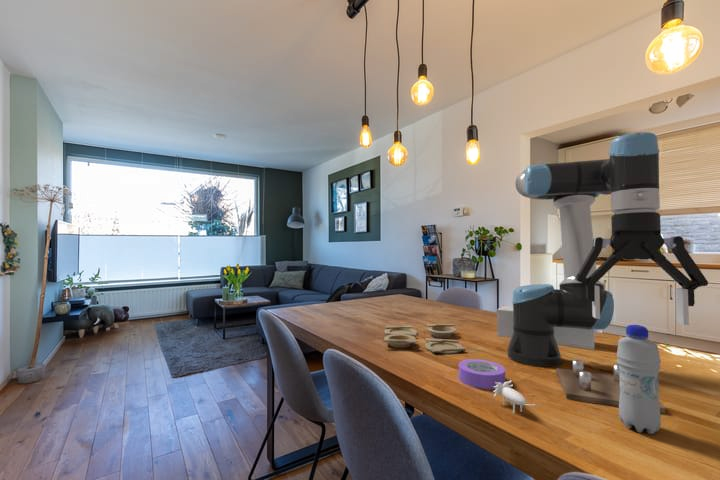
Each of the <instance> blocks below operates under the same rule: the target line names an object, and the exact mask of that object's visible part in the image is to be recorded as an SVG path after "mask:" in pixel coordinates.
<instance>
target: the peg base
mask: <svg viewBox="0 0 720 480" xmlns="http://www.w3.org/2000/svg"><path fill="white" fill-rule="evenodd" d="M589 372H590V371H589ZM555 373H556V376H557V379H558V381H559V383H560V386H561V388H562V391H563V392H564V393H563V394H564V395H565V398H566V399H567V400H573V401H578V402H587V403H592V404H599V405H606V406H613V407H618V408H619V398H620V383H617V382H615V381H614V374H607V373H600V372H599V373H598V372H590V373H591V391H583V390H581V389H579V378H577V377H574V376H573V370H572V369H565V368H557V367H556V368H555ZM659 407H660V414H664V415H665V414H666V407H665V406H663V404H662V403H661V402H660V401H659Z"/></svg>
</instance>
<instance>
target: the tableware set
mask: <svg viewBox="0 0 720 480" xmlns="http://www.w3.org/2000/svg"><path fill="white" fill-rule="evenodd" d="M426 327H427V331H428V332H430V333H432V335H433V337H436V338H427V337H426V338H425V342H426V343H425V344H424V348H425V349H426V350H428V351H430V352H432V353H438V354H449V355H450V354H457V353H460V352H462V351H466V350H467V349H466V347H465V346H463V345H462V344H460V343H459V340H458V339H446V338H451V336H452V335H453V334H455V333H456V332H457V331H458V329H457V328H455V327H456V323H441V324H437V323H428V324H426ZM413 328H414V326H413V325H410V324H409V325H403V326H402V325H397V326H396V325H395V326H392V325H391V326H384V331H383V332H384V334H385V336H384V338H383V340H382V342H383V343H388V344H390V346H391V347H393V348H397V349H404V348H409V347H411V344H415V343H418V342H419V341H418V340H417V339H416V338H417V336H418V331H417V330H416V329H413Z"/></svg>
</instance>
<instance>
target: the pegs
mask: <svg viewBox="0 0 720 480" xmlns="http://www.w3.org/2000/svg"><path fill="white" fill-rule="evenodd" d="M571 364H572V369H571V370H573V376H574V377H577V378H579V389H581V390H583V391H591V373H592V372H591V373H590V371H586V370H584V361H583V360H581V359H575V358H574V359H572V361H571ZM612 366H613V374H612V375H614V381H615V382H617V383H620V376H619V364H618V363H614V364H612Z"/></svg>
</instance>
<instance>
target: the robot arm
mask: <svg viewBox="0 0 720 480" xmlns="http://www.w3.org/2000/svg"><path fill="white" fill-rule="evenodd" d="M608 155H609V158H605V159H594V160H593V159H591V160H580V161H579V160H578V161H568V162H567V161H566V162H555V163H537V164H531V165H529V166H527V167H526V168H525V170H523V171H521V172H520V173H519V174H518V176H517V177H516V180H515V189H516V191H517V192H518V194H519V195H521V196H523V198H524V197H525V198H529V199H533V200H542V201H543V200H552V201H553V206H554V207H555V208H557V209H558V210H559V221H560V233H561V248H562V249H561V251H562V261H563V262H562V264H563V266H562V267H563V277H564V279H563V280H562V281H561V282H559V284H558V285H559V289H558V288H557V289H556V288H555V287H554V286H553V285H552V284H547V283H545V284H541V283H539V284H527V285H522V286H518V287H516V288H514V289H513V292H512V301H511V303H512V307H513V334H512V337H511V338H510V340H509V343H508V345H507V346H508V347H507V356H508V358H509V359H511V360H513V361H515V362H518V363H522V364H525V365H530V366H535V367H537V366H538V367H555V366H558V365H560V364H561V363H562V355H561V352H560V349H559V346H558V344H557V343H556V340H555V337H554V327H564V328H578V329H587V330H591V329H595V330H597V331H598V330H605V329H607V328H608V327H609V326H610V325H611V322H612V320H613V317H614V313H615V312H614V311H615V299H614V297H613V293H612V292H610V291H608V290H605V285H604V283H603V282H601V281H600V280H601V279H602V278H603V277H604V276H605V275H606V274H607V273H608V272H609V271H610V270H611V269H612V268H613V267H614V266H615V265H617V263H618V262H620V261H621V260H622V259H623V260H629V261H630V260H631V261H632V260H639V261H640V260H643V261H645V260H646V261H647V260H651V261H652V262H654V263H655V264H656V265H658V266H659V267H660V268H661V269H662V270H663V271H664V272H665V273H666V274H668V276H670V277H671V279H673V281H674V282H676V283H677V284H678V285H679V286H680V287H675V302H676V303H675V305H676V306H675V307H676V308H675V309H676V310H675V311H676V323H679V324H681V325H683V326H684V325H685V326H689V325H690V322H689V321H690V317H689V313H690V312H689V307H694V306H695V290H697V288H700V287H706V286H708V285H709V281H708V280H707V278H706V277H705V275H704V274H703V272H702V270H701V269H700V268H699V266H698V265H697V263H696V262H695V261H694V259H693V258H692V255H690V253H689V252H688V250H687V249H686V248H685V241H684V238H683V237H682V236H679V235H677V236H676V235H675V236H671V237H666V238H665V237H664V238H663V237H662V234H661V233H662V232H661V230H662V229H661V228H662V227H661V213H660V212H656V211H658V210H660V209H661V204H660V202H661V201H660V200H661V199H660V162H659V161H660V159H659V158H660V149H659V141H658V137H657V135H656V133H653V132H647V131H644V132H643V131H642V132H641V131H640V132H633V133H628V134H623V135H620V136H618V137H615V138H614V139H612V140H611V142H610V144H609V151H608ZM600 195H605V196H607V195H610V204H611V205H610V211H611V212H612V213H614V214H613V215H612V216H611V217H610V218H611V223H610V224H611V237H610V238H603V237H601V236H600V237H594V233H593V223H592V213H591V211H592V210H591V206H592V205H593V204H594V203H595V202H596V198H597V197H599V196H600ZM607 245H609V246H610V247H611V248H612V250H613V252H612V253H611V254H610V255H609V256H608V257H607V259H605V261H604V262H602V263H601V264H600V266H598V267H597V265H596V262H597V259H598V257H599V256H600V254H601V252H602V249H605V248H606V247H607ZM663 245H665V246H666V247H667V248H668V249H671V251H672V253H673V255H674V257H675V258H676V260H677V261H678V262H679V265H680V266H681V267H682V268H683V270H684V271H685V273H686V274H687V275H685V274H684V273H683V272H682V271H680V269H679V268H678V267H677V266H675V265H674V264H673V263H672V262H671V261H669V260H668V258H667V257H666V256H665V255H664V254H663V253H662V252H661V251H660V249H662V247H663ZM687 276H688V277H687Z"/></svg>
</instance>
